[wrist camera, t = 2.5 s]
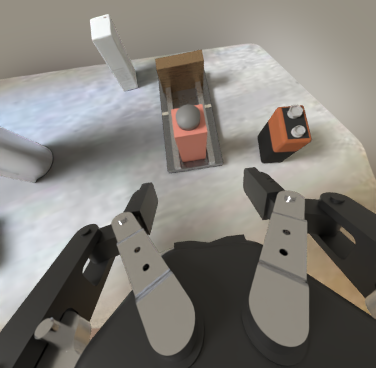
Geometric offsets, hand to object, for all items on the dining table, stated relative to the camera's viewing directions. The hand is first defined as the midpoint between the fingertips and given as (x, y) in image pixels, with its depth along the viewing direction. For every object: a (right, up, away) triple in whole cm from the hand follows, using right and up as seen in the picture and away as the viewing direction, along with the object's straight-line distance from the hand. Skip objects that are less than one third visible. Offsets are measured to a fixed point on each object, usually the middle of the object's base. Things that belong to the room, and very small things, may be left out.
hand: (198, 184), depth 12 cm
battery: (+17, +8, +20) cm, 27 cm away
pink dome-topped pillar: (0, +8, +19) cm, 21 cm away
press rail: (-1, +16, +23) cm, 28 cm away
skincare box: (-17, +28, +28) cm, 43 cm away
